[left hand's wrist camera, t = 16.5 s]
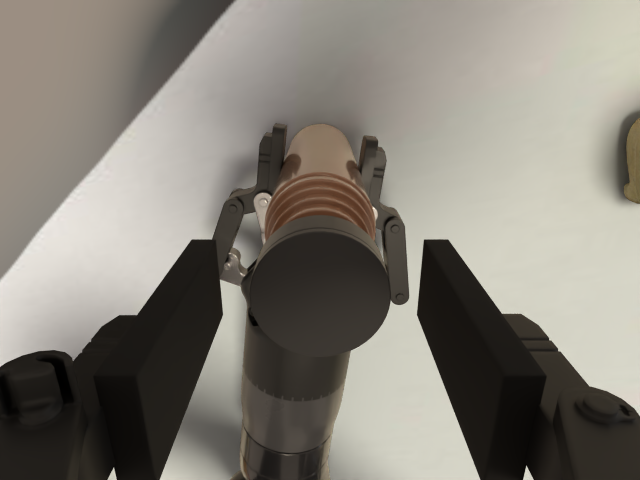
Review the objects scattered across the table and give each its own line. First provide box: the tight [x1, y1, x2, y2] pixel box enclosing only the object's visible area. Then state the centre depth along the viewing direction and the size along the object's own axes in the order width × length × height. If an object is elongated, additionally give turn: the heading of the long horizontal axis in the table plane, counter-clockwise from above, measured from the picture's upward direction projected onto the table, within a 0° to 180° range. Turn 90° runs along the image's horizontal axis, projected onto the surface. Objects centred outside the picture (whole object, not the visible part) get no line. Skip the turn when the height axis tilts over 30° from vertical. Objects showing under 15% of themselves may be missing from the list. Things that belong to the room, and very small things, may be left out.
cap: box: [249, 215, 391, 357], centre depth 14 cm, size 4×4×2 cm
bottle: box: [264, 124, 376, 241], centre depth 23 cm, size 5×5×21 cm
